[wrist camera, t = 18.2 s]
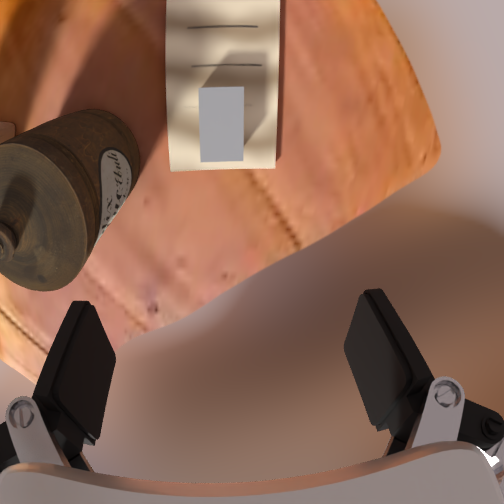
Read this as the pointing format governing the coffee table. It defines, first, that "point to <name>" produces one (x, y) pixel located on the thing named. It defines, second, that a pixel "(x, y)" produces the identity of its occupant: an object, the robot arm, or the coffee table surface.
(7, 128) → the wooden block
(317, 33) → the coffee table surface
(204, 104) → the block
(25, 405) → the robot arm
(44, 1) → the coffee table surface
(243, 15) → the board
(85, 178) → the wooden container
